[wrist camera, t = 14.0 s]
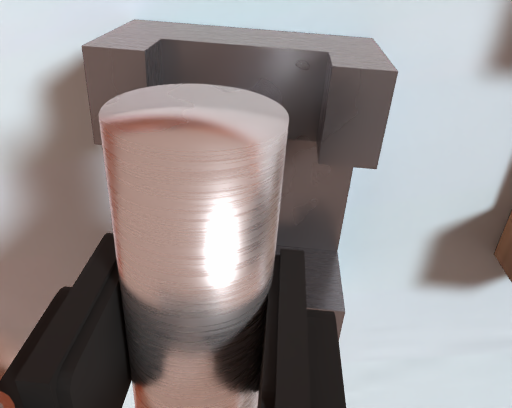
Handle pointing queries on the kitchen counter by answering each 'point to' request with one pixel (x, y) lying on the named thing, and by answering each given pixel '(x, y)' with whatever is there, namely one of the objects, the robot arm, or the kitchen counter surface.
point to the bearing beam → (505, 249)
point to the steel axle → (194, 236)
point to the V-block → (287, 95)
